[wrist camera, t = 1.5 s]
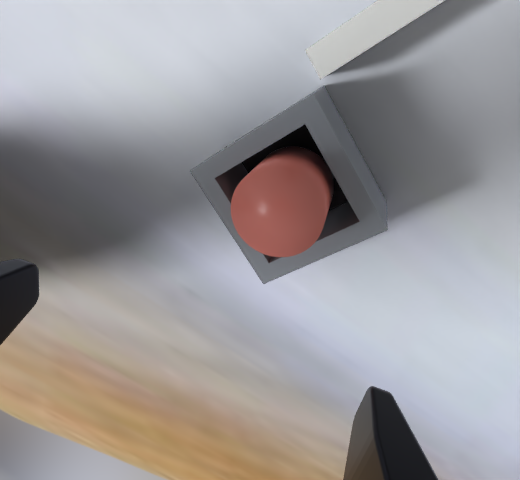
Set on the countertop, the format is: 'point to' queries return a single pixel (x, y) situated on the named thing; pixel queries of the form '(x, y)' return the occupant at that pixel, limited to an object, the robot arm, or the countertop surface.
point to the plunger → (283, 202)
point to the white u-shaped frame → (364, 32)
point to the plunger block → (340, 163)
